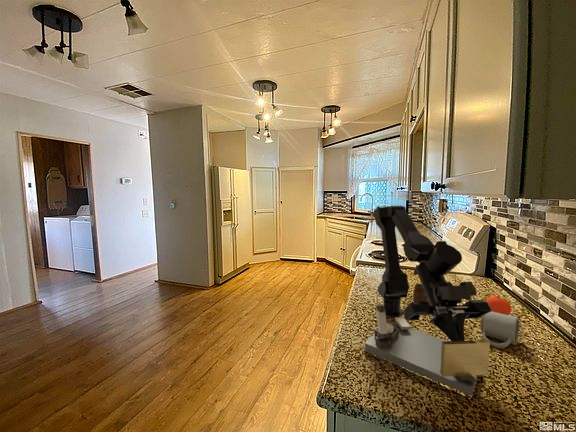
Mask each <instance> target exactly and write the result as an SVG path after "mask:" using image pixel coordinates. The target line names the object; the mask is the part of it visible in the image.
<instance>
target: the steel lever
mask: <svg viewBox="0 0 576 432" xmlns="http://www.w3.org/2000/svg"><path fill="white" fill-rule="evenodd" d="M375 309H376V310H375V311H376V321H377V327H378V332H379V333H377V336H378V339H379V340H389V339H390V336H389V333H388V332H387V323H386V322H387V316H386V315H387V314H385V308H384V306H383V304H377V305H376V308H375Z"/></svg>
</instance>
